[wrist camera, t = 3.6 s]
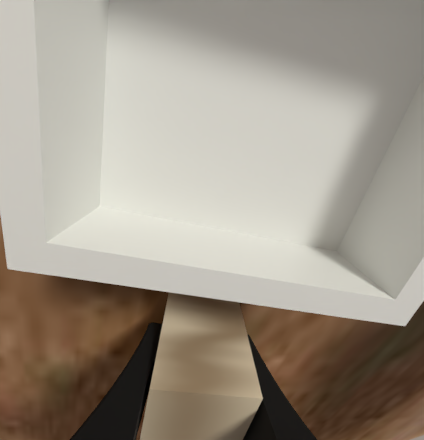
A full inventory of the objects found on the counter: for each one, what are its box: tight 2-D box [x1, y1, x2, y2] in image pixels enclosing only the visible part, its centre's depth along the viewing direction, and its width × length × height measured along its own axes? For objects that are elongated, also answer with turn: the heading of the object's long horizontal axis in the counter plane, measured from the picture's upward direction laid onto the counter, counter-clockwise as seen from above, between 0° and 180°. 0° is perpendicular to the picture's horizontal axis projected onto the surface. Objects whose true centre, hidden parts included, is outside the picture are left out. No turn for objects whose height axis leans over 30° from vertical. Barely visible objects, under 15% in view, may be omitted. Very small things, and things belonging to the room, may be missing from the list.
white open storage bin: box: [0, 0, 424, 326], centre depth 6 cm, size 10×9×5 cm
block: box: [140, 292, 263, 440], centre depth 10 cm, size 4×4×5 cm
